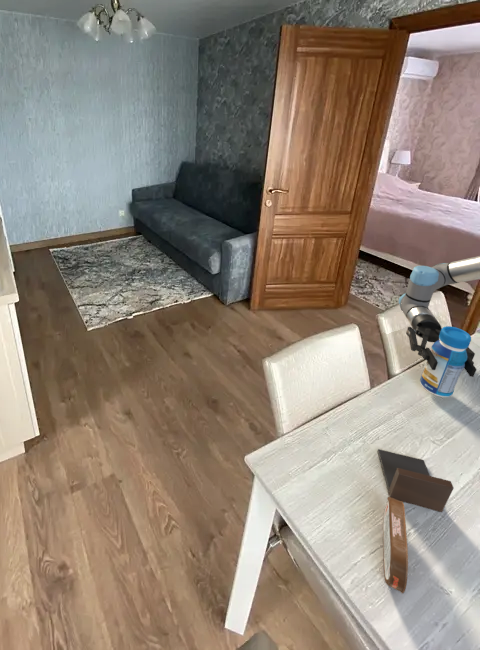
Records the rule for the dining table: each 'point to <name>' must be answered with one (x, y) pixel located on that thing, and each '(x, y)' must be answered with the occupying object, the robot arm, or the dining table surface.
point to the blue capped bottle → (446, 361)
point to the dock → (413, 481)
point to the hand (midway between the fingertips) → (453, 369)
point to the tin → (395, 545)
